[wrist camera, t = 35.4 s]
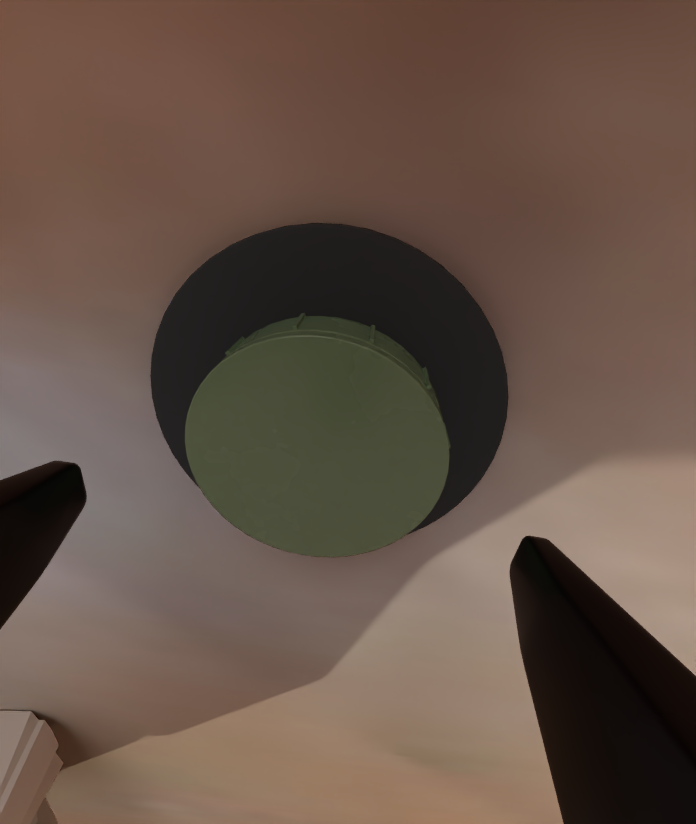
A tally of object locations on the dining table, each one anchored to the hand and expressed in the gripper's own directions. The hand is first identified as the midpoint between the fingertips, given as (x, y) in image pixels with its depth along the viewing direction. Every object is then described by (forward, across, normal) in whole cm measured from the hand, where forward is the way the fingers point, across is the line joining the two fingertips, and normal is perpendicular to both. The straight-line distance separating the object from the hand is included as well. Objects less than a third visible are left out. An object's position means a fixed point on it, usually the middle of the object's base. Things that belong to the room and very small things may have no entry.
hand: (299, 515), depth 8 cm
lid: (+2, 0, 0) cm, 3 cm away
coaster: (+4, 0, 0) cm, 4 cm away
